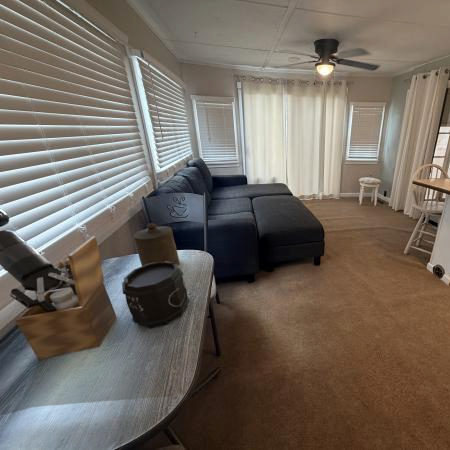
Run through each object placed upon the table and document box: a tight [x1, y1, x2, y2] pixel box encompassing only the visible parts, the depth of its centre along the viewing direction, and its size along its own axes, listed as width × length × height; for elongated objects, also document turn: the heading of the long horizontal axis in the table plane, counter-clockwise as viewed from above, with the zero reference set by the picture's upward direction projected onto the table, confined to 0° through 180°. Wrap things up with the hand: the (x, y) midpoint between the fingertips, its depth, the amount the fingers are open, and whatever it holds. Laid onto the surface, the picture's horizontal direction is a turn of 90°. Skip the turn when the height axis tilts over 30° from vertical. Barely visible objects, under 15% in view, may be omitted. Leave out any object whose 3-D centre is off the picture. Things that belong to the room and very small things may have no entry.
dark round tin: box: [121, 261, 190, 329], centre depth 81 cm, size 18×18×16 cm
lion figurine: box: [56, 259, 73, 280], centre depth 103 cm, size 15×5×9 cm, turn 88°
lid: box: [67, 235, 105, 307], centre depth 68 cm, size 16×13×1 cm
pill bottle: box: [50, 287, 80, 311], centre depth 70 cm, size 6×6×12 cm
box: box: [14, 282, 118, 361], centre depth 71 cm, size 15×13×14 cm
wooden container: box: [133, 222, 181, 266], centre depth 107 cm, size 15×15×22 cm
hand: (69, 302), depth 69 cm, fingers closed on pill bottle, 6 cm apart
